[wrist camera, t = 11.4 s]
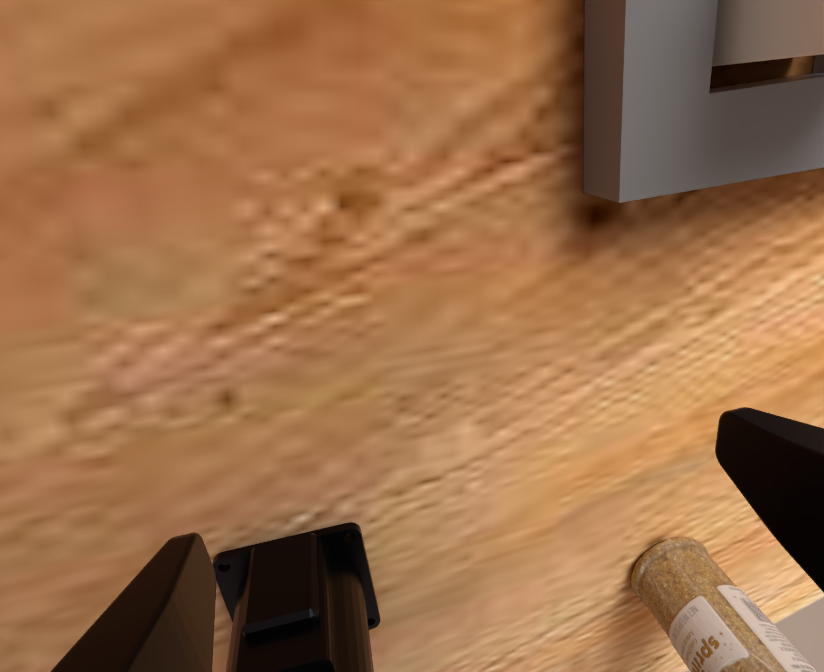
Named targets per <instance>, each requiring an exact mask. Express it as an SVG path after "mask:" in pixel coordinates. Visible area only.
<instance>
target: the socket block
mask: <svg viewBox="0 0 824 672" xmlns="http://www.w3.org/2000/svg"><path fill="white" fill-rule="evenodd" d="M717 7H718V0H585V1H584V178H583V193H587V194H590V195H594V196H597V197H600V198H604V199H607V200H610V201H614V202H617V203H623V202H628V201H634V200H640V199H646V198H651V197H657V196H663V195H669V194H674V193H680V192H686V191H692V190H697V189H703V188H709V187H715V186H721V185H726V184H732V183H738V182H744V181H749V180H755V179H761V178H767V177H772V176H778V175H784V174H790V173H795V172H801V171H807V170H813V169H819V168H824V54H821V55H815V60H814V66H813V72H812V73H811V74H804V75H797V76H791V77H784V78H777V79H771V80H764V81H757V82H751V83H744V84H737V85H731V86H724V87H717V88H711V89H710V81H711V70H712V60H713V49H714V39H715V28H716V18H717Z"/></svg>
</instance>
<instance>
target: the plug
mask: <svg viewBox="0 0 824 672" xmlns="http://www.w3.org/2000/svg"><path fill="white" fill-rule="evenodd" d="M821 54H824V0H718V7H717V18H716V28H715V39H714V49H713V60H712V66H720V65H729V64H739V63H748V62H757V61H766V60H775V59H784V58H794V57H803V56H812V55H821Z"/></svg>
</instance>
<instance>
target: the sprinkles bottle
mask: <svg viewBox="0 0 824 672" xmlns="http://www.w3.org/2000/svg"><path fill="white" fill-rule="evenodd" d="M631 579H632V582H631V585H632V587H633V589H634V591H635V593H636V594H637V595H638V596H639V597H640V598H641V599H642V600H643V601H644V602H645V604H646V605H647V607H648V608H649V609H650V610H651V612H652V613H653V615H654V617H655V618H656V619H657V621H658V622H659V624H660V625H661V626H662V628H663V629H664V631H665V632H666V634H667V635H668V637H669V638H670V641H671V643H672V645H673V647H674V648H675V649H676V651H677V652H678V654H679V655H680V657H681V658H682V660H683V661H684V663H685V664H686V665H687V667H688V668H689V670H690V671H691V672H816V670H815V669H814V668H813V667H812V666H811V665H810V664H809V663H808V662H807V661H806V659H805V658H804V657H803V656H802V655H801V654H800V653H799V652H798V651H797V649H796V648H795V647H794V646H793V645H792V644H791V643H790V642H789V641H788V640H787V638H786V637H785V636H784V635H783V634H782V633H781V632H780V631H779V630H778V629H777V627H776V626H775V625H774V624H773V623H772V622H771V621H770V620H769V619H768V617H767V616H766V615H765V614H764V613H763V612H762V611H761V610H760V609H759V608H758V606H757V605H756V604H755V603H754V602H753V601H752V600H751V599H750V598H749V597H748V595H747V594H746V593H745V592H744V591H743V590H741V589H739V588H738V587H737V586H736V585H735V584H734V583H733V582H732V581H731V580H730V578H729V577H728V576H727V575H726V574H725V573H724V572H723V570H722V569H721V568H720V567H719V566H718V565H717V564H716V563H715V562H714V561H713V560H712V559H711V557H710V556H709V554H708V552H707V550H706V548H705V547H704V546H703V545H702V544H701V543H700V542H698V541H696V540H694V539H692V538H687V537H678V538H672V539H667V540H664V541H663V542H661V543H658V544H656V545H655V546H654V547H652V548H651V549H649V550H648V551H647V552H646V553H644V554H643V556H642V557H641V558H640V559H639V560H638V562H637V563H636V565H635V568H634V570H633V574H632V576H631Z"/></svg>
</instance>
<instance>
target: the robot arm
mask: <svg viewBox="0 0 824 672" xmlns="http://www.w3.org/2000/svg"><path fill="white" fill-rule="evenodd" d="M715 452H716V457H717V459H718V462H719V463H720V465H721V466H722V468H723V469H724V470H725V472H726V473H727V474H728V476H729V477H730V478H731V480H732V481H733V483H734V484H735V485H736V487H737V488H738V489H739V491H740V492H741V493H742V495H743V496H744V497H745V499H746V500H747V501H748V503H749V504H750V505H751V507H752V508H753V509H754V511H755V512H756V513H757V515H758V516H759V517H760V519H761V520H762V522H763V523H764V524H765V525H766V527H767V528H768V529H769V531H770V532H771V533H772V534H773V536H774V537H775V538H776V539H777V540H778V542H779V543H780V544H781V545H782V546H783V547H784V549H785V550H786V551H787V552H788V553H789V554H790V555H791V557H792V558H793V559H794V560H795V561H796V562H797V563H798V564H799V565H800V567H801V568H802V569H803V570H804V571H805V572H806V573H807V574H808V576H809V577H810V578H811V579H812V580H813V581H814V582H815V583H816V584H817V586H818V587H819V588H820V589H821V590H822V591H823V592H824V428H820V427H816V426H813V425H809V424H806V423H802V422H798V421H795V420H791V419H788V418H784V417H780V416H777V415H773V414H770V413H766V412H762V411H759V410H755V409H752V408H747V407H743V408H738V409H734V410H729V411H726V412H724V413H722V415H721V416H720V419H719V424H718V432H717V440H716V447H715ZM349 533H353V535H351V536H347V534H349ZM222 563H227V564H228V565H223V564H222ZM216 580H217V583H218V586H219V588H220V591H221V593H222V596H223V598H224V601H225V603H226V606H227V608H228V611H229V614H230V616H231V619H232V621H233V626H232V633H231V640H230V647H229V654H228V661H227V669H226V672H374V670H373V662H372V654H371V646H370V637H369V630H370V629H373V628H375V627H377V626H378V625H379V623H380V614H379V609H378V605H377V600H376V596H375V591H374V587H373V582H372V578H371V573H370V569H369V564H368V560H367V555H366V551H365V546H364V542H363V538H362V533H361V529H360V527H359V525H357V524H356V523H345V524H340V525H336V526H332V527H328V528H323V529H319V530H315V531H310V532H306V533H302V534H298V535H293V536H289V537H285V538H280V539H276V540H272V541H268V542H263V543H259V544H255V545H250V546H246V547H242V548H238V549H233V550H229V551H225V552H221V553H219V554H217V555H216V556H215V558H214V560H213V565H212V562H211V560H210V557H209V555H208V552H207V549H206V547H205V544H204V542H203V539H202V537H201V536H200V535H199V534H198V533H189V534H185V535H181V536H176V537H173V538H171V539H170V540H168V541H167V542H166V543H165V545H164V546H163V547H162V548H161V549H160V550H159V551H158V552H157V553H156V555H155V556H154V557H153V558H152V559H151V560H150V561H149V562H148V563H147V565H146V566H145V567H144V568H143V569H142V570H141V571H140V572H139V574H138V575H137V576H136V577H135V578H134V579H133V580H132V581H131V582H130V584H129V585H128V586H127V587H126V588H125V589H124V590H123V591H122V592H121V594H120V595H119V596H118V597H117V598H116V599H115V600H114V601H113V603H112V604H111V605H110V606H109V607H108V608H107V609H106V610H105V611H104V613H103V614H102V615H101V616H100V617H99V618H98V619H97V620H96V621H95V623H94V624H93V625H92V626H91V627H90V628H89V629H88V630H87V632H86V633H85V634H84V635H83V636H82V637H81V638H80V639H79V640H78V642H77V643H76V644H75V645H74V646H73V647H72V648H71V649H70V650H69V652H68V653H67V654H66V655H65V656H64V657H63V658H62V659H61V661H60V662H59V663H58V664H57V665H56V666H55V667H54V668H53V669H52V671H51V672H212V658H213V639H214V619H215V599H216ZM369 618H370V619H369Z"/></svg>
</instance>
